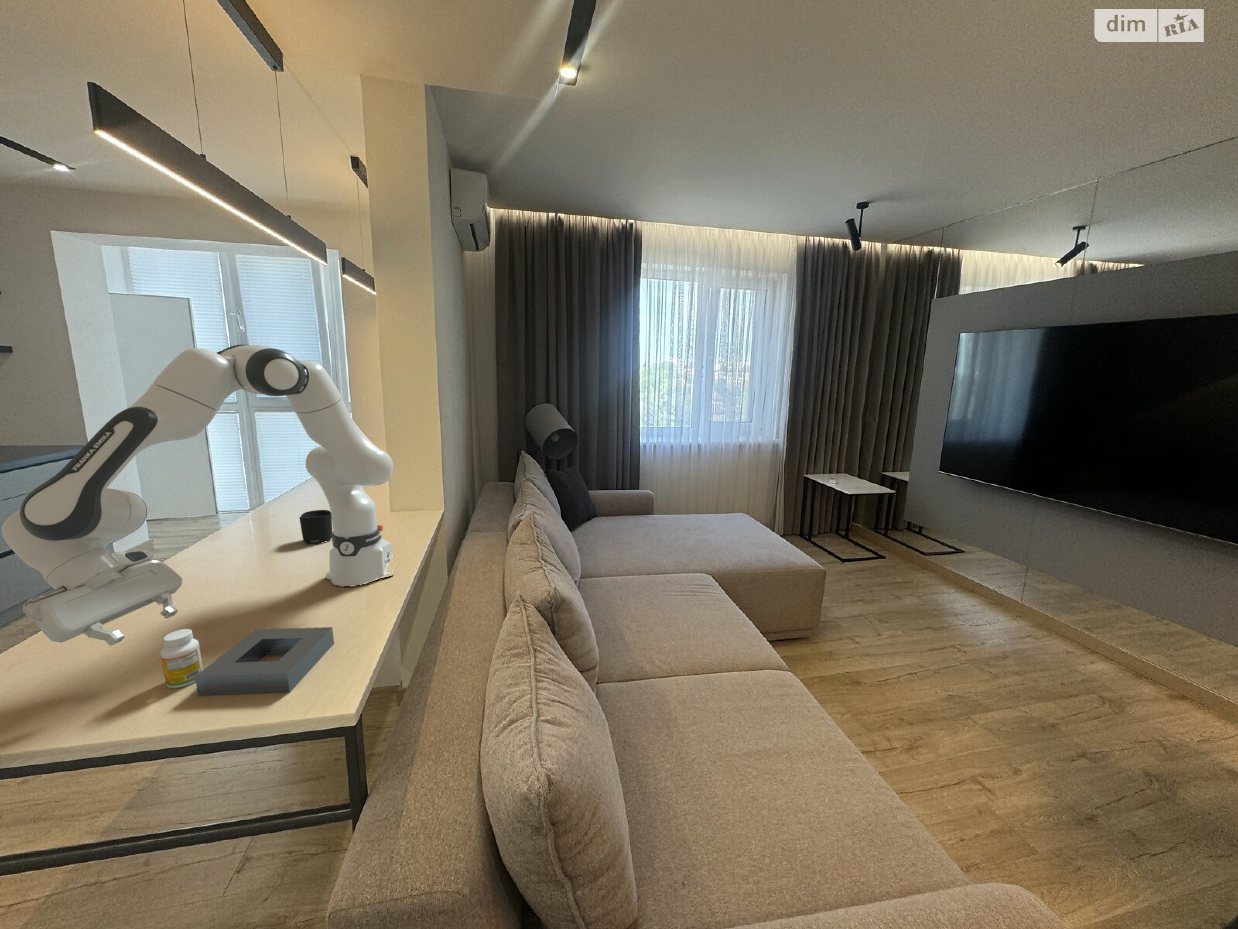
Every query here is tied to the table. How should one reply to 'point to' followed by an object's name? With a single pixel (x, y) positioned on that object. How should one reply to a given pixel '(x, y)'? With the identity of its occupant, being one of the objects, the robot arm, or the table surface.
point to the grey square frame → (250, 676)
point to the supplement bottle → (181, 658)
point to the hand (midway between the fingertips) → (147, 627)
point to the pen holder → (316, 526)
